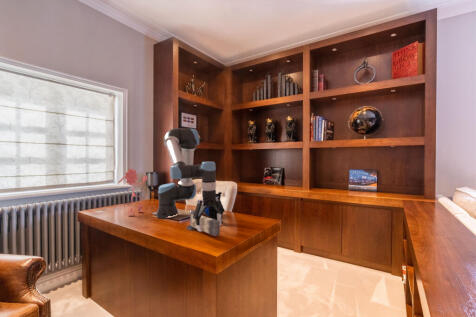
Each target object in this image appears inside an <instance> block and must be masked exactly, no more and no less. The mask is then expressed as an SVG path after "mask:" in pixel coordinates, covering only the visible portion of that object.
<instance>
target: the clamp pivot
mask: <svg viewBox="0 0 476 317" xmlns="http://www.w3.org/2000/svg"><path fill="white" fill-rule="evenodd" d="M194 212H195V209H190V210H189V213H190V225H186V230H189V231H194V230H197V229H196V228H194V227H192V215H194Z"/></svg>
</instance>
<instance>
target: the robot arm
mask: <svg viewBox="0 0 476 317" xmlns="http://www.w3.org/2000/svg"><path fill="white" fill-rule="evenodd" d="M199 144H200V134H199V132H198V131H197V129H194V128H176V127H175V128H171V129H169V130H167V131H166V133H165V134H164V136H163V145H164V147H165V148H166V149H167V152H168V156H169V159H170V163H171V166H170V169H169V174H170V178H171V179H172V180H178V182H177V184H176V183H174V182H170V183H165V184H161V185H160V186H158V192H157V193H158V208H157V212H156V218H157V219H161V220H162V219H168V218H166V217H168V216H173V215H176V214H178V215H179V211H178V208H177V205H176V201H177V202H178V201H189V200H193V199H194V198H195V197H196V195H197V194H196V193H197V185H196V183H195V182H194V181H193V179H198V178H201V192H202V193H201V195H202V196H201V197H202V199H201V200H200V199H197V202H196V203H197V204H196V206H195V209H194V210H195V212H194V215H193V218H194V219H196V225H197V229H196V230H197V231H198V232H199V233H200V232H203V231H202V229H201V219H200V218H201V216H203V214H205V213H204V211H205V209H206V208H207V207H210V206H211V207H212V206H213V207H214V208H215V209H216V210H217V212H218V214H217V220H218V221H220V227H221V226H222V223H221V221H222V220H223V215H224V213H225V212H226V209H225V208H224V205H223V202H222V201H221V197H216V194H217V190H216V189H217V188H216V187H217V180H216V178H217V177H216V172H217V171H216V169H217V167H216V163H215V161H202V163H201V164H200V163H199V164H194V156H195V155H194V154H195V153H194V152H195V150H196V149H197V146H199ZM215 197H216V198H215ZM215 201H216V202H217V204H218V206H219V207H218V206H217V204H216V203H215ZM221 219H222V220H221Z"/></svg>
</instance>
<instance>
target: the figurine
mask: <svg viewBox="0 0 476 317" xmlns="http://www.w3.org/2000/svg"><path fill="white" fill-rule="evenodd" d="M136 172H137V169H133V168H128V169H127V171H126V172H125V175H124V176H123V177H122V178H120V180H119V181H118V182H117V185H119V184H120V183H121V182H122V181H123V180H124V179H125V180H126V182H125V183H126V184H129V185H130V186H133V190H132V194H131V199H130V202H132V200H133V198H135V197H138V198H140V199H139V206H138V207H137V211H138V212H140V211H141V212H142V213H144V211H143V209H142V208H143V205H142V203H141V202H142V200H141V199H142V197H141V196H139V195H137V194H136V193H135V187H136V185H141V186H143V184H144V183H145V182H146V181H147V180H148V175H144V176H143V177H142V183H140V182H139V183H138V182H137V181H138V177H137V176H138V174H137V173H136ZM149 211H150V209H149V210H148V212H149ZM131 212H132V215H133V217H135V216H136V215H135V213H134V210H133V207H130V210H129V212H127V216H129V214H130V213H131Z"/></svg>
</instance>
